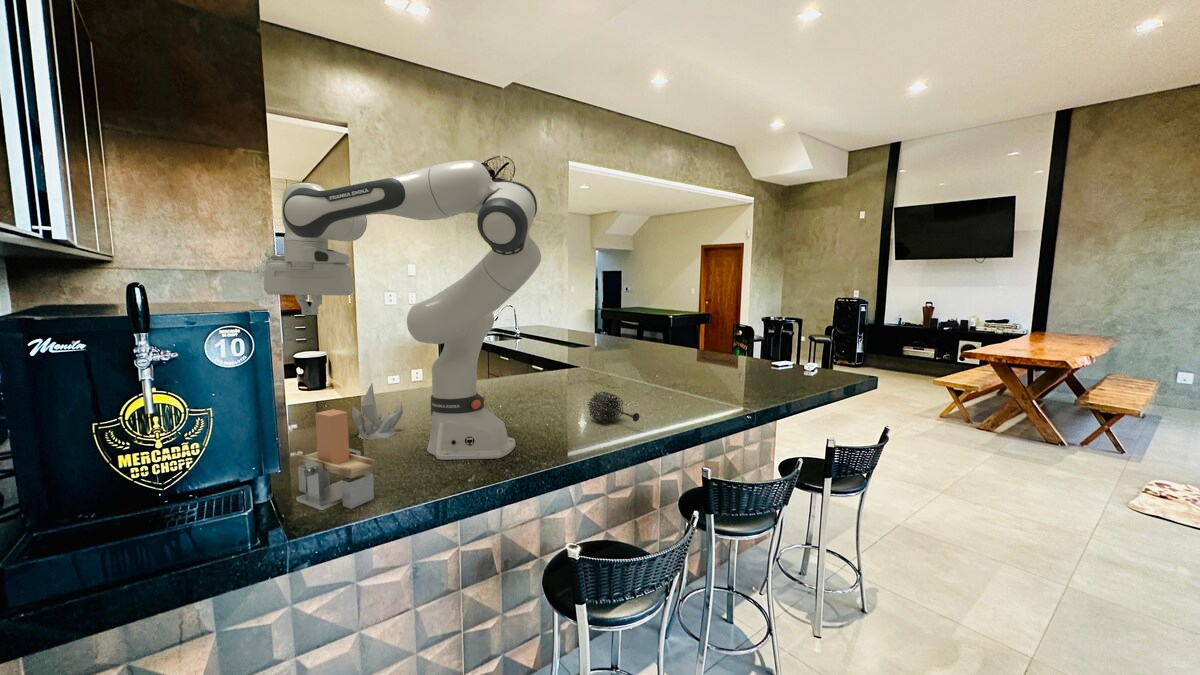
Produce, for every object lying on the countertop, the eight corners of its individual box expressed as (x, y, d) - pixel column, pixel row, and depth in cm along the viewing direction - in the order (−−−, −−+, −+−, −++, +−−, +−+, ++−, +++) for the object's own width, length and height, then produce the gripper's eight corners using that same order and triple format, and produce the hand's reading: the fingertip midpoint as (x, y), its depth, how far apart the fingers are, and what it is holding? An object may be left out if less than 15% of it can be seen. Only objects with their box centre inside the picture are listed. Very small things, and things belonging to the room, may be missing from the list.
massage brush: (624, 435, 137) (624, 403, 136) (578, 418, 154) (578, 390, 153) (647, 430, 143) (648, 399, 142) (600, 414, 160) (601, 386, 159)
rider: (317, 462, 95) (315, 413, 94) (335, 456, 98) (332, 409, 97) (332, 466, 93) (329, 416, 92) (349, 460, 96) (347, 412, 95)
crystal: (406, 435, 135) (405, 383, 133) (354, 443, 128) (351, 388, 126) (401, 426, 143) (399, 377, 142) (351, 433, 136) (349, 381, 135)
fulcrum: (282, 497, 95) (280, 458, 94) (337, 477, 105) (335, 442, 104) (334, 516, 87) (332, 474, 87) (387, 492, 97) (386, 455, 97)
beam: (293, 463, 97) (293, 454, 97) (323, 454, 102) (323, 445, 102) (347, 480, 89) (346, 469, 89) (376, 469, 94) (376, 459, 94)
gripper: (254, 254, 109) (258, 314, 110) (338, 254, 107) (341, 316, 108) (276, 256, 115) (279, 313, 117) (355, 256, 113) (358, 314, 115)
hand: (310, 314), depth 113 cm, fingers closed
